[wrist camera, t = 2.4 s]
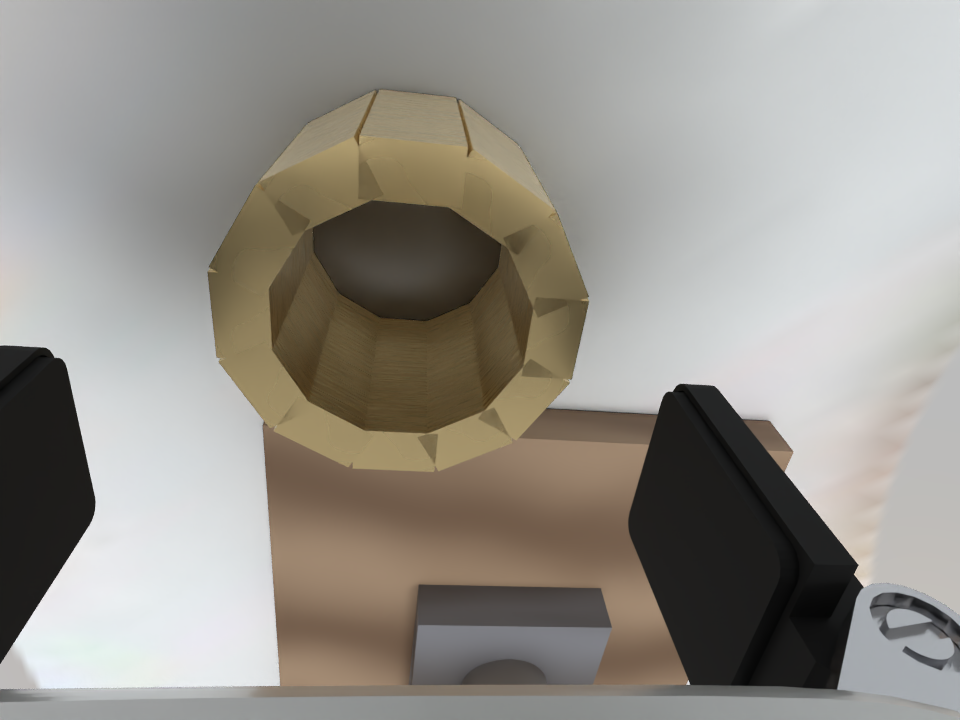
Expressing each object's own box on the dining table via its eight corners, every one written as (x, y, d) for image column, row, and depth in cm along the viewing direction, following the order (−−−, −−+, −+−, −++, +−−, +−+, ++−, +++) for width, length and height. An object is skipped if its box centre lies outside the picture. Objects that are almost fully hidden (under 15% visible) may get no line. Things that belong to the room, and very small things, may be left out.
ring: (263, 76, 14) (191, 118, 10) (563, 109, 15) (620, 162, 10) (277, 343, 17) (227, 463, 13) (520, 359, 18) (549, 476, 14)
